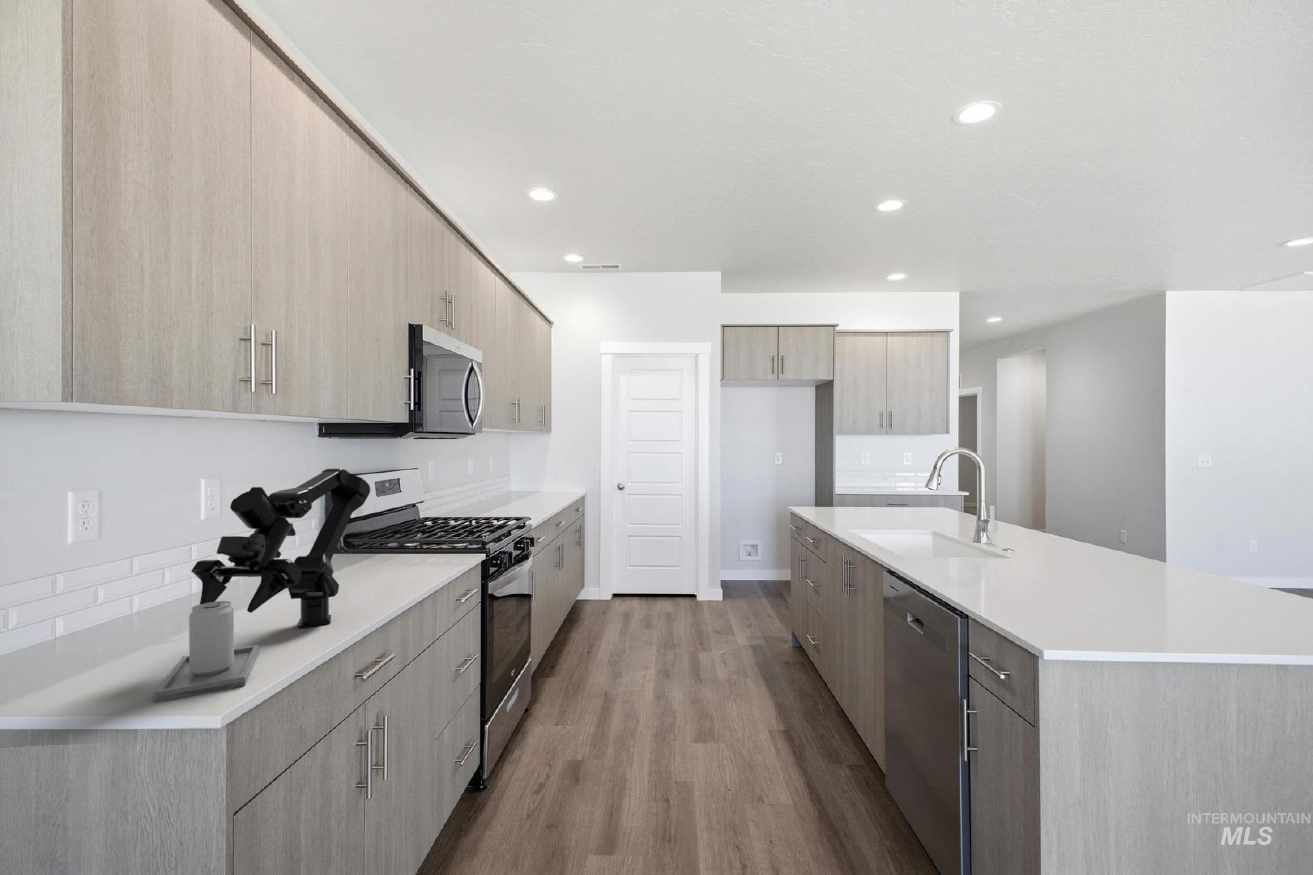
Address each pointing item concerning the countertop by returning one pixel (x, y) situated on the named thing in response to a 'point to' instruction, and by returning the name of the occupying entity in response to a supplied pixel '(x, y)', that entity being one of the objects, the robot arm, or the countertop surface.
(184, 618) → the countertop surface
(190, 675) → the tray
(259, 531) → the robot arm
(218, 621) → the beverage can
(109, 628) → the countertop surface
